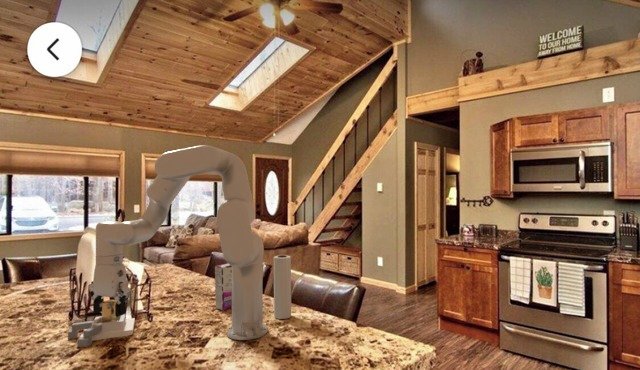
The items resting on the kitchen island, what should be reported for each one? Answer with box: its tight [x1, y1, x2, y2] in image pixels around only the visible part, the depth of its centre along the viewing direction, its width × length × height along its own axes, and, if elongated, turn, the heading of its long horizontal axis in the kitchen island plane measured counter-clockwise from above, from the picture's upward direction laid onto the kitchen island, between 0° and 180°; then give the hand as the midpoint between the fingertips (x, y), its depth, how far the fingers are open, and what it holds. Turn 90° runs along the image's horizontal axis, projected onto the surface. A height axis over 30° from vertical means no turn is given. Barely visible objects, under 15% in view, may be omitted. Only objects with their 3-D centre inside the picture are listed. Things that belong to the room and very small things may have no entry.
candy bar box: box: [214, 262, 232, 311], centre depth 142 cm, size 11×5×16 cm, turn 143°
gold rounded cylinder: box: [100, 299, 117, 323], centre depth 117 cm, size 5×5×8 cm
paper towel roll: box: [273, 254, 292, 320], centre depth 130 cm, size 7×6×21 cm
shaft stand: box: [67, 312, 136, 348], centre depth 114 cm, size 17×18×4 cm
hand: (109, 313), depth 117 cm, fingers open, 9 cm apart
